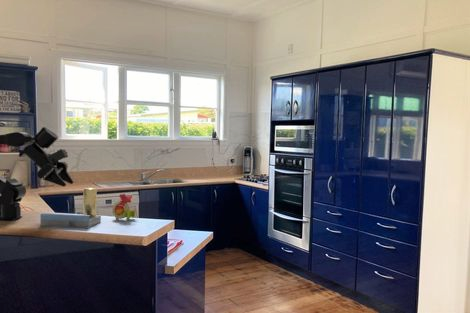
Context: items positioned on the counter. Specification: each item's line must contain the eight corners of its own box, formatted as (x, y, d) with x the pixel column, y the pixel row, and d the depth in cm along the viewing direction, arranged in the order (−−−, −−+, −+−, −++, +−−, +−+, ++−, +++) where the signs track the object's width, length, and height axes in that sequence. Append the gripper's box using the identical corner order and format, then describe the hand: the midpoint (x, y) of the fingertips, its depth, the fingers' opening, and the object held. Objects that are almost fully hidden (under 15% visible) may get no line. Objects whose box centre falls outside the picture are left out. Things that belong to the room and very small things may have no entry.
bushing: (80, 220, 151) (81, 189, 151) (86, 218, 156) (86, 187, 156) (93, 221, 151) (93, 189, 151) (98, 218, 156) (98, 188, 156)
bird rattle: (114, 226, 152) (134, 218, 151) (104, 200, 152) (124, 192, 151) (120, 223, 158) (140, 215, 157) (110, 198, 159) (130, 190, 158)
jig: (40, 226, 140) (40, 213, 140) (56, 219, 151) (56, 208, 151) (88, 228, 139) (88, 215, 139) (100, 221, 150) (100, 210, 150)
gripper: (45, 142, 141) (76, 171, 143) (62, 142, 160) (89, 168, 162) (23, 163, 141) (55, 193, 143) (42, 161, 159) (70, 187, 161)
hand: (69, 184), depth 152 cm, fingers open, 9 cm apart
